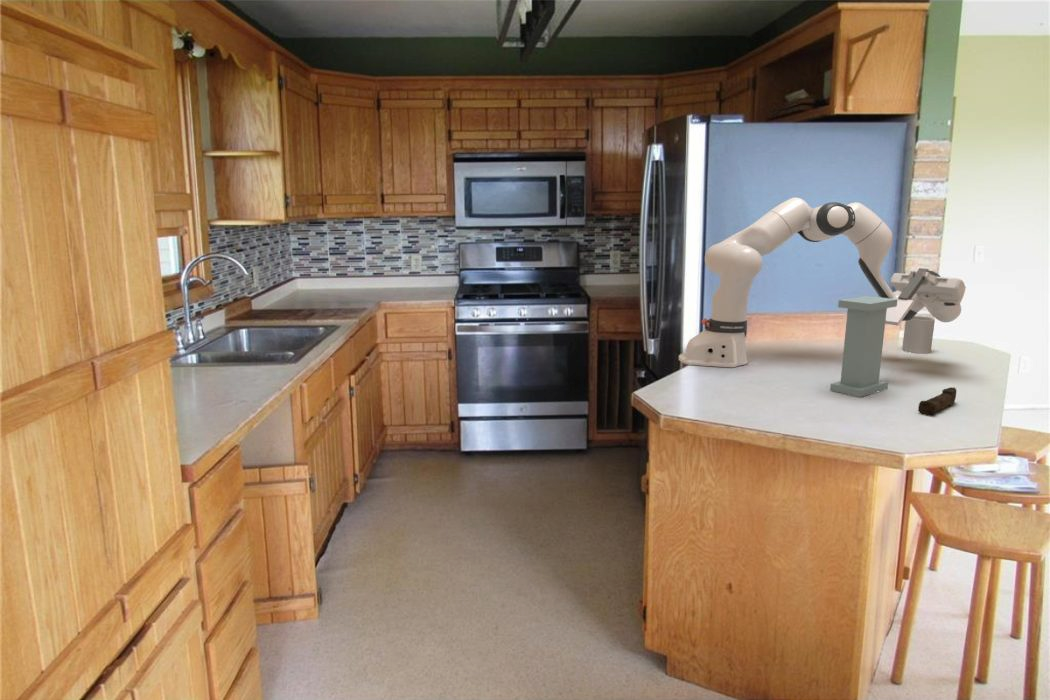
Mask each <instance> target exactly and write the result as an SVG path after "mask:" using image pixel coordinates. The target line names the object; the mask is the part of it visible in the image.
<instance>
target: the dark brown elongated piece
mask: <svg viewBox="0 0 1050 700" xmlns="http://www.w3.org/2000/svg"><path fill="white" fill-rule="evenodd" d="M956 397H957V388H956V387H954V386H953V387H948V388H944V389H942V392H941V393H940V394H938V395H936V396H933V397H932V398H929V399H927V400H921V401H920V402H919V403H918V409H917V411H918V413H919V414H920V413H921V415H924V414H926V415H925V416H928V415H932V416H934V415H936V413H937V412H938V411H940V410H943V409H944V408H946V407H948V406H949V408H950V407H953V406H954V404H955V400H957V399H956Z"/></svg>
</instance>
